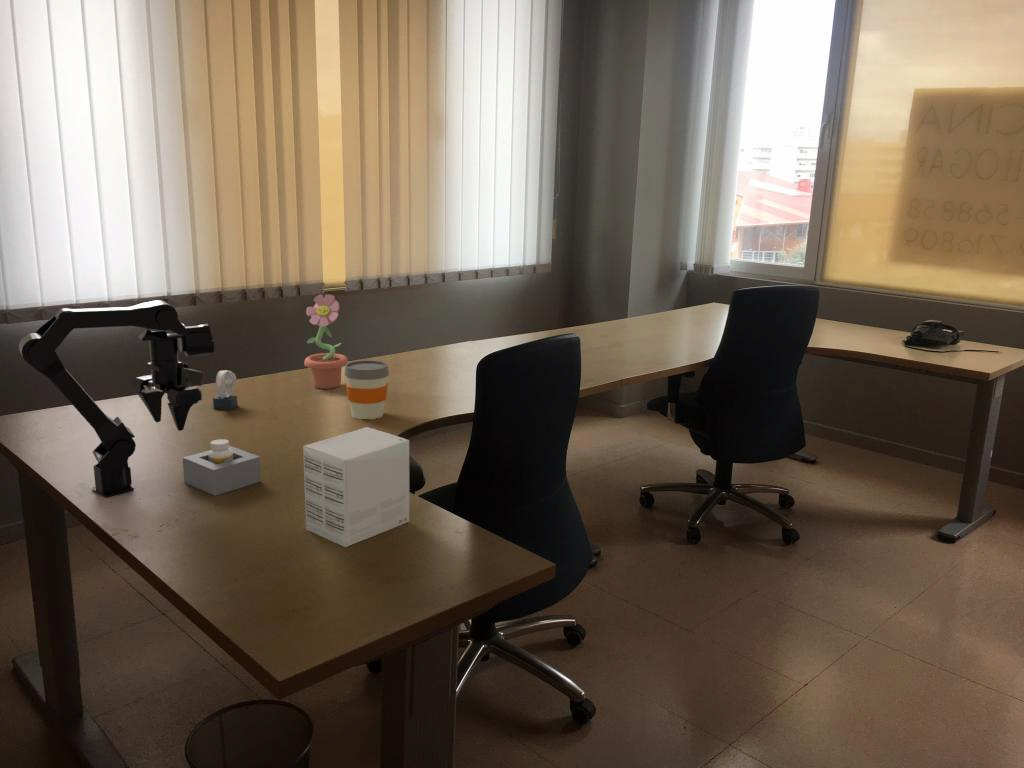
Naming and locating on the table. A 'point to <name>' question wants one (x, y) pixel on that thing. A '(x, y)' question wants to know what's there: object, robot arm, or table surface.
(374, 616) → the table surface
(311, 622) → the table surface
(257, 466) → the drop box
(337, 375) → the decorative flower
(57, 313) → the robot arm
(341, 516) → the supplement box
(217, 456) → the supplement bottle
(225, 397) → the white bust figurine
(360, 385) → the reusable coffee cup
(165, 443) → the table surface
